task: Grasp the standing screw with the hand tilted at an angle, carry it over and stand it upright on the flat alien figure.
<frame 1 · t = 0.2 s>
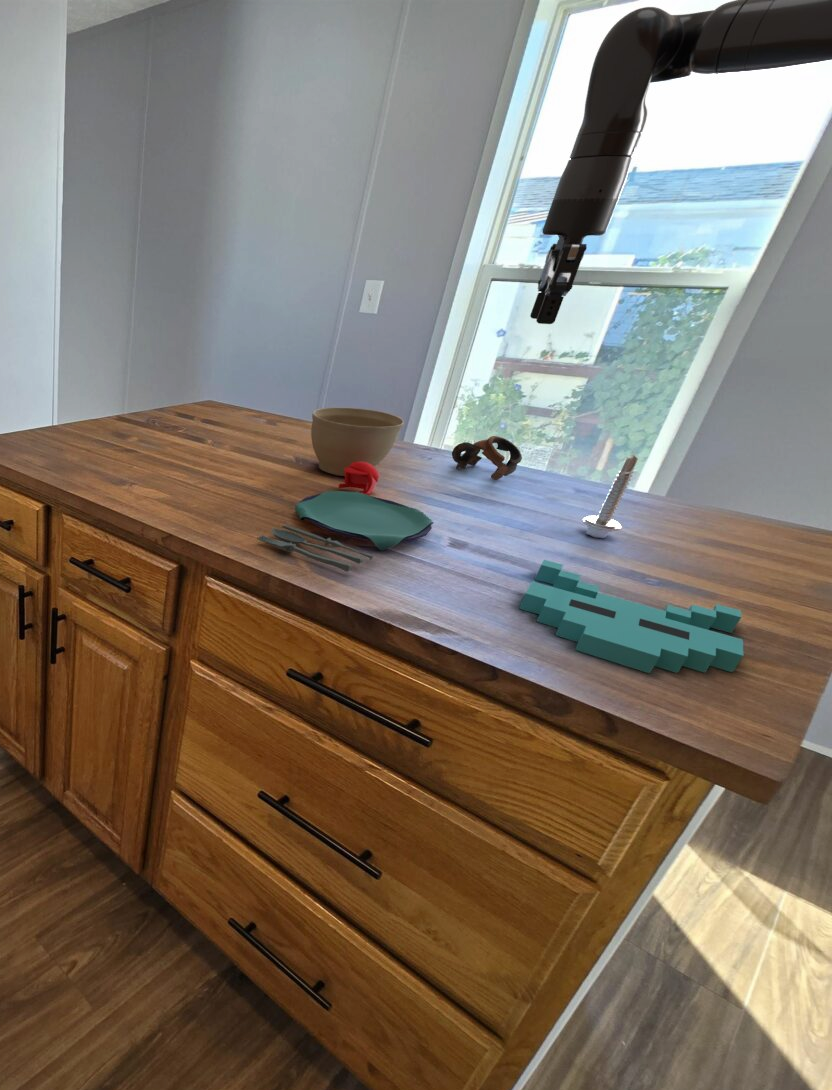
hand: (540, 321, 100), 30 cm above the counter, tool pointing down, fingers open, 8 cm apart
screw: (595, 536, 104), on the counter
alien figure: (619, 628, 80), on the counter
planter bowl: (343, 471, 131), on the counter
cap: (354, 494, 120), on the counter
cutlery set: (343, 534, 104), on the counter
brown looped twisted part: (476, 474, 131), on the counter
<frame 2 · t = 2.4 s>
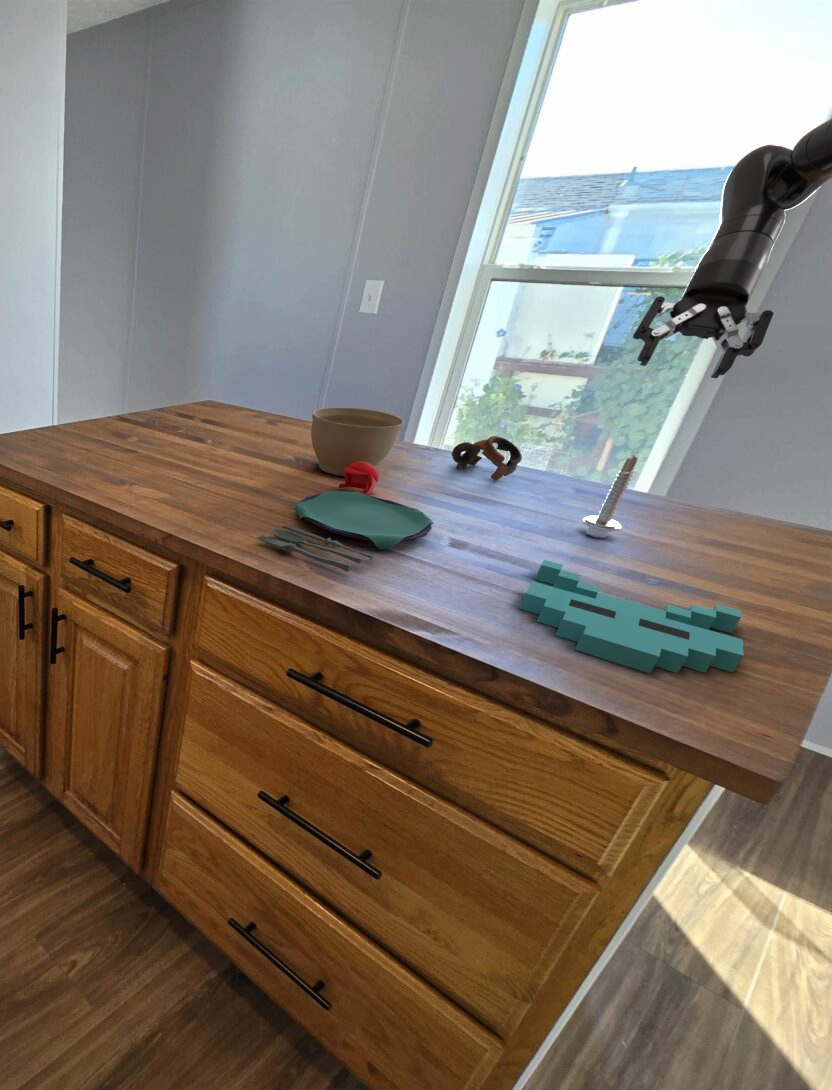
hand: (679, 369, 98), 24 cm above the counter, tool tilted 40°, fingers open, 8 cm apart
nothing on the counter moved.
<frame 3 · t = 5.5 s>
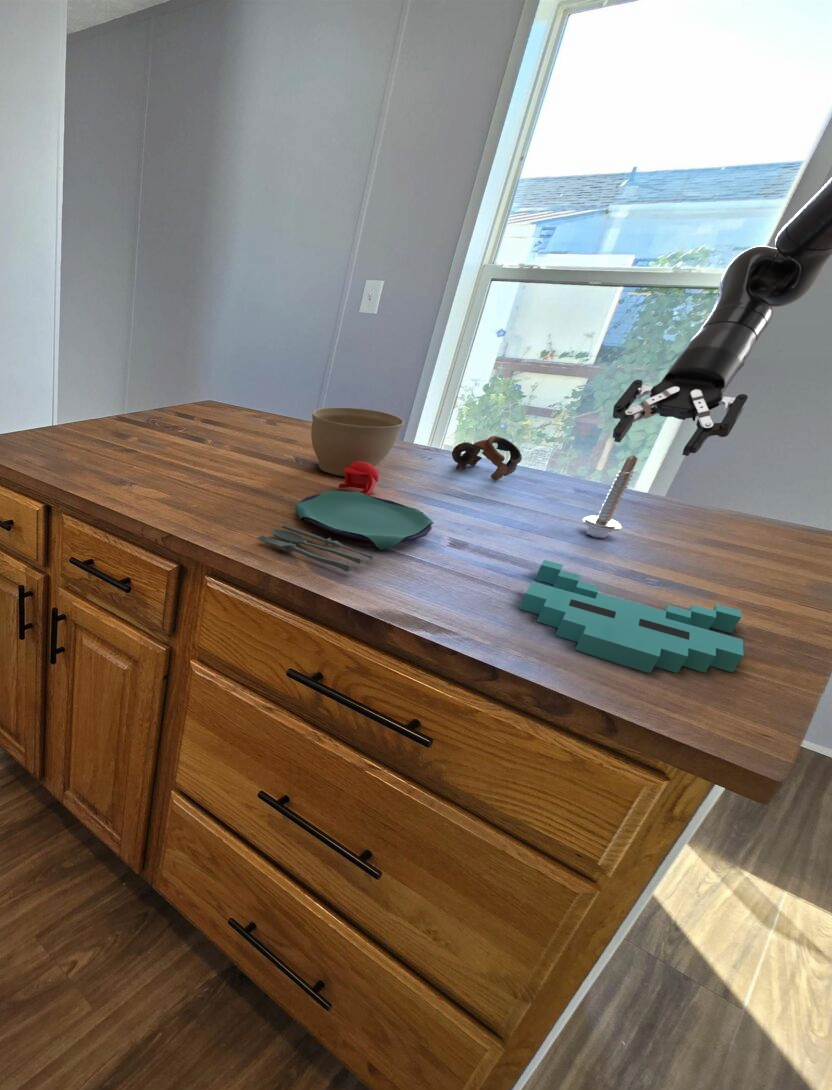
hand: (650, 445, 101), 13 cm above the counter, tool tilted 45°, fingers open, 8 cm apart
nothing on the counter moved.
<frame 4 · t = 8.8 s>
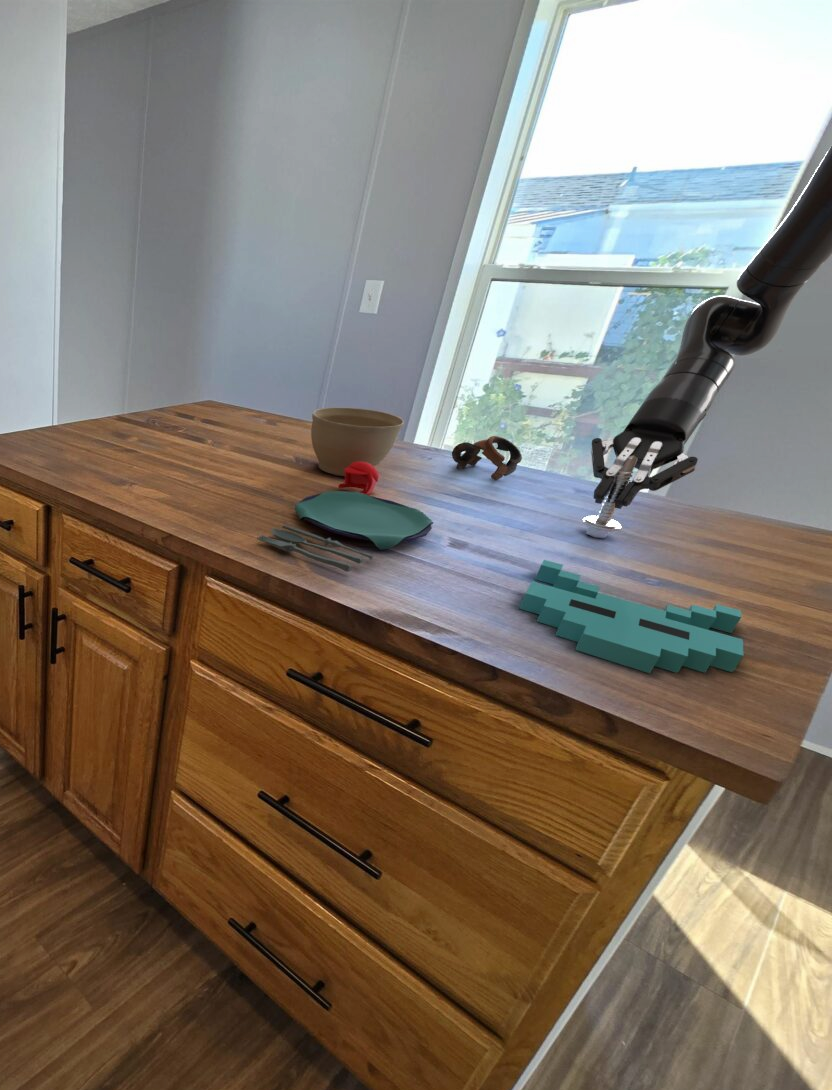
hand: (608, 502, 100), 6 cm above the counter, tool tilted 45°, fingers closed on screw, 2 cm apart
screw: (595, 536, 104), on the counter, touching gripper
everything else where it was.
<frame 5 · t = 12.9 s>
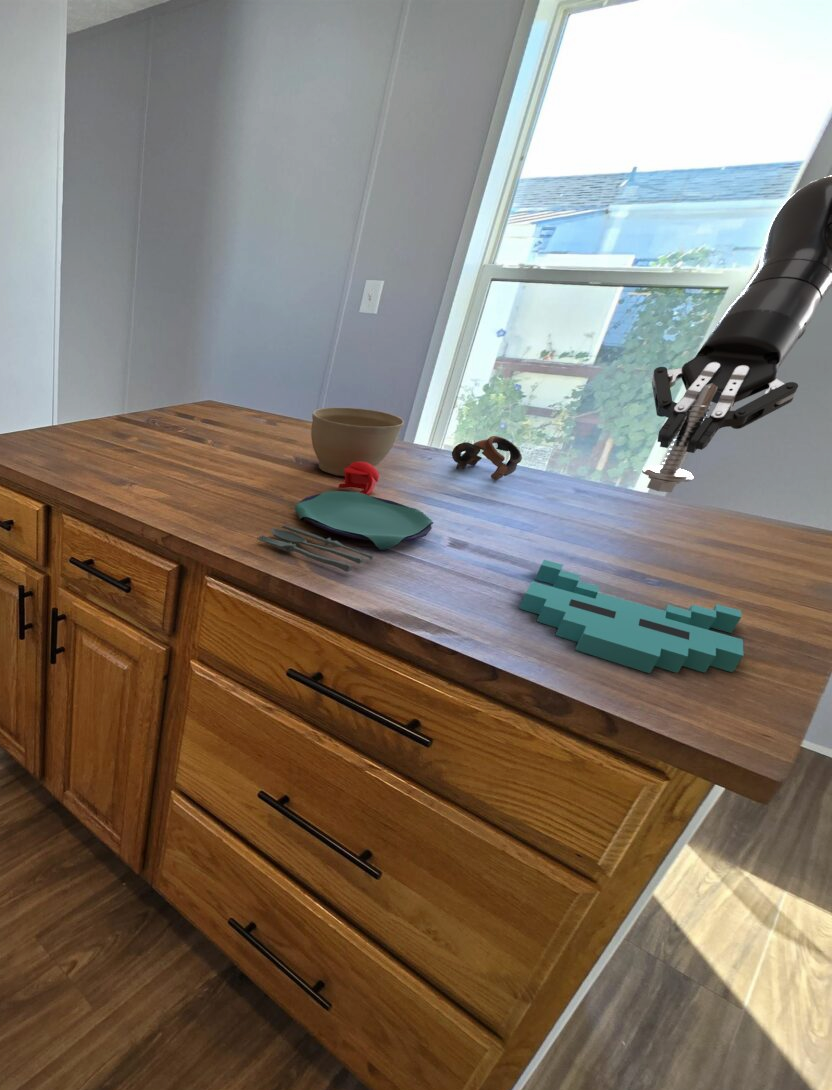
hand: (677, 445, 79), 20 cm above the counter, tool tilted 45°, fingers closed on screw
screw: (659, 490, 83), point 13 cm above the counter, touching gripper
everything else where it was.
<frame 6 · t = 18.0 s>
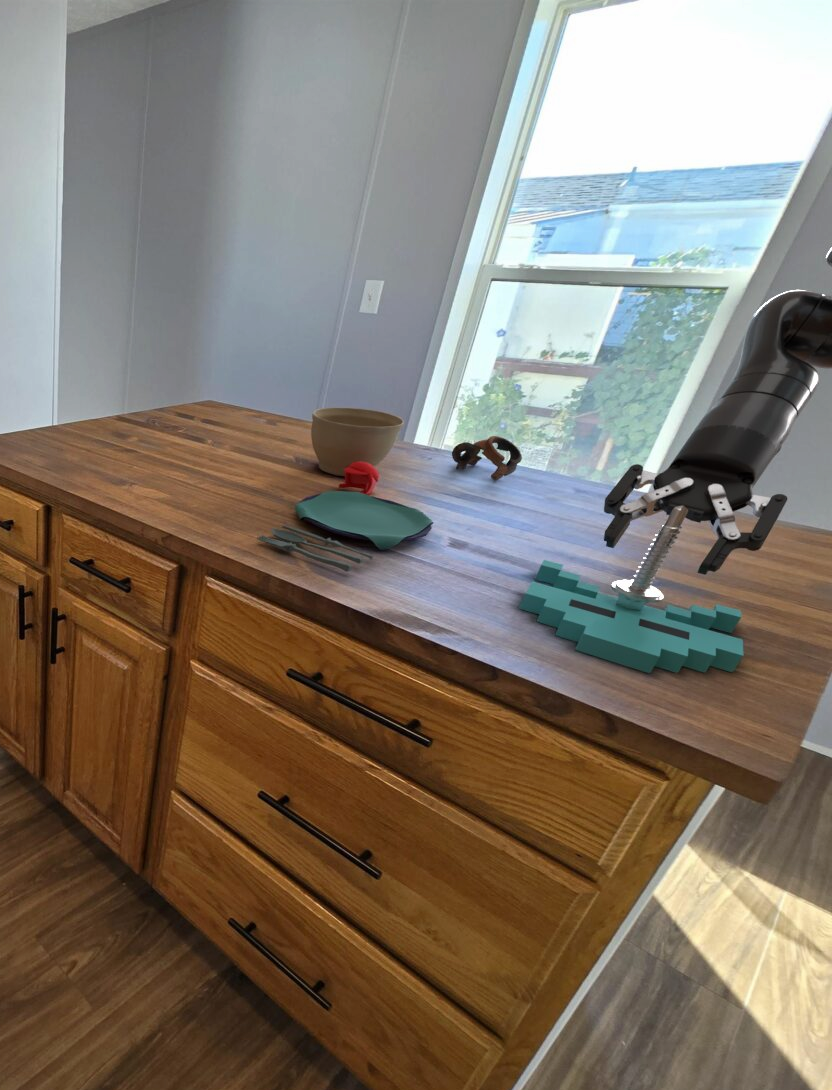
hand: (654, 557, 75), 9 cm above the counter, tool tilted 45°, fingers open, 8 cm apart
screw: (628, 606, 80), point 2 cm above the counter, touching alien figure
alien figure: (619, 628, 80), on the counter, touching screw
everything else where it was.
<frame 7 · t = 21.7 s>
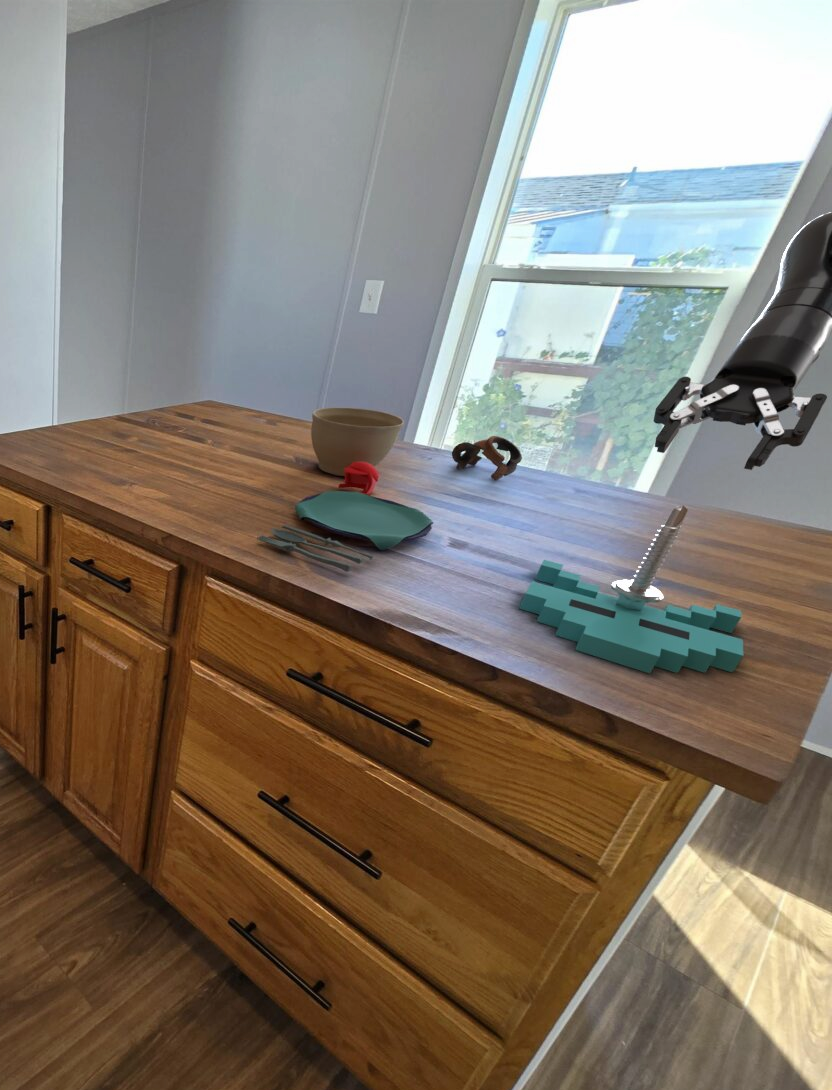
hand: (703, 457, 83), 17 cm above the counter, tool tilted 45°, fingers open, 8 cm apart
nothing on the counter moved.
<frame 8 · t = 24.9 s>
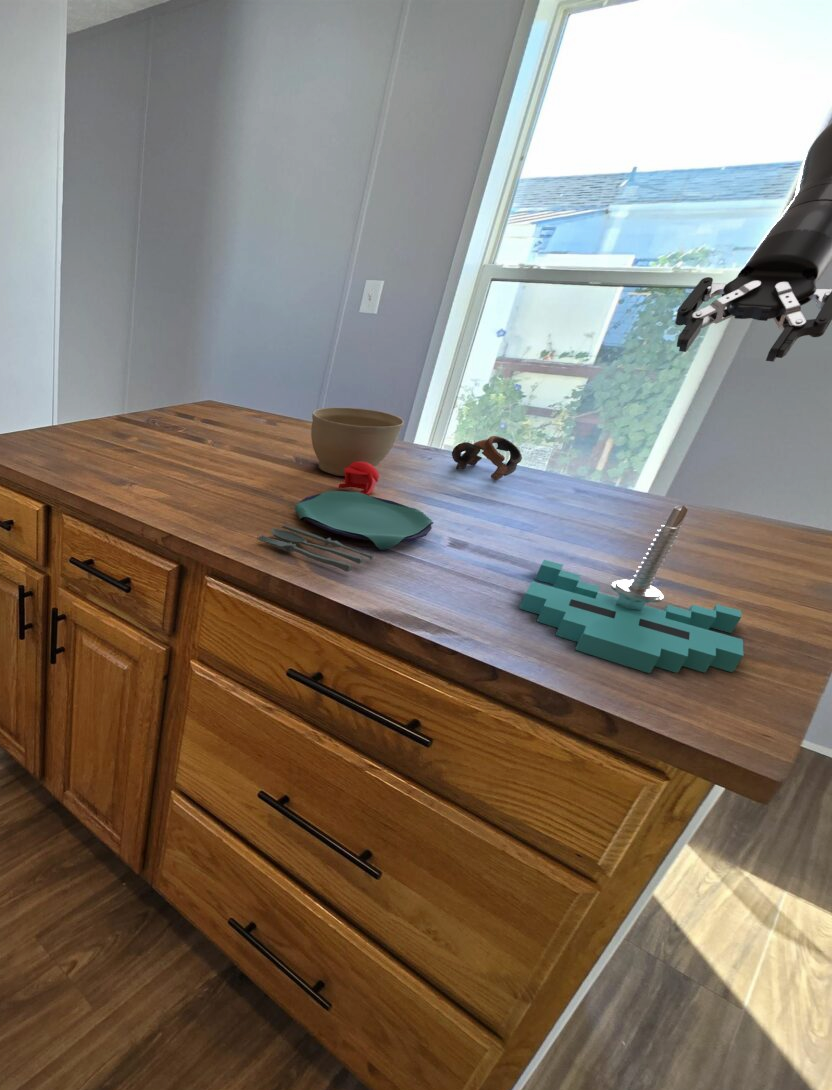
hand: (725, 352, 84), 29 cm above the counter, tool tilted 45°, fingers open, 8 cm apart
nothing on the counter moved.
at the end: screw inside the target area on the alien figure (2.0 cm from its centre), point 2.2 cm above the alien figure's base; screw tilted 0° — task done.
